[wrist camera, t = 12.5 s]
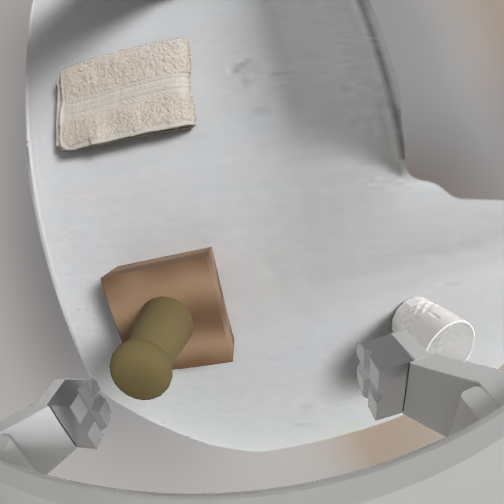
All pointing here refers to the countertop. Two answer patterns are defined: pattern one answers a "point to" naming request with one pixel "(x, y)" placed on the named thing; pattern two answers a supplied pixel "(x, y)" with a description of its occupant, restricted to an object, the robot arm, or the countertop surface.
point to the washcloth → (125, 96)
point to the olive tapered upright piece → (152, 348)
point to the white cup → (435, 328)
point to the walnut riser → (182, 289)
